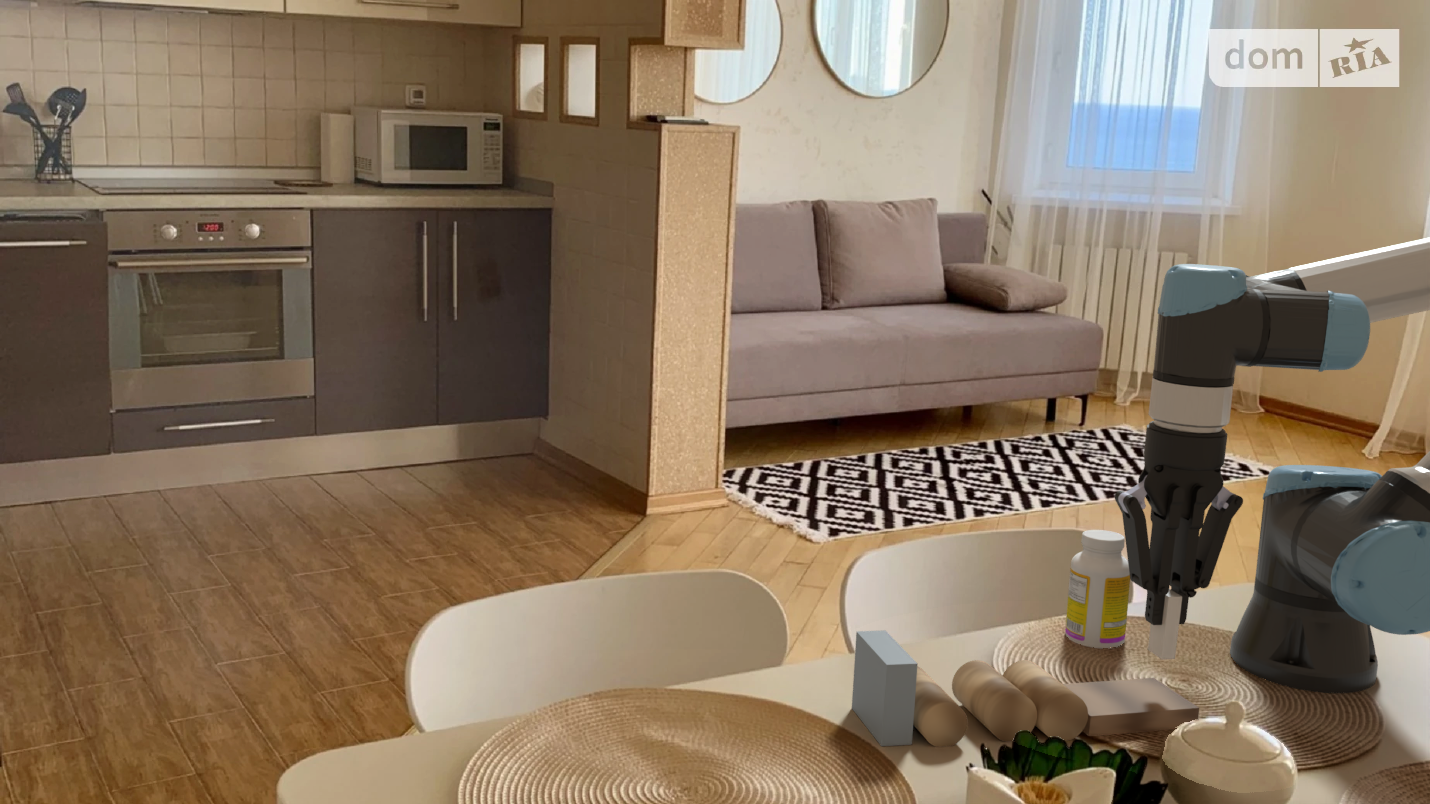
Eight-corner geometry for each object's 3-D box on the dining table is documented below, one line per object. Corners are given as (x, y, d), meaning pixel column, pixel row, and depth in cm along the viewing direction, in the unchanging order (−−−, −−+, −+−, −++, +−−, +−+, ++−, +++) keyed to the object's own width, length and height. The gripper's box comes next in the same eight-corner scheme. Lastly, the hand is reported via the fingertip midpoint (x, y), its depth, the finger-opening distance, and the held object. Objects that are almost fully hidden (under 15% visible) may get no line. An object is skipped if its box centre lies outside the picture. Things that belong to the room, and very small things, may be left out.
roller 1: (933, 695, 142) (893, 712, 141) (921, 657, 141) (881, 674, 140) (972, 736, 132) (930, 755, 132) (960, 696, 131) (918, 714, 131)
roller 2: (955, 659, 141) (999, 660, 142) (948, 704, 141) (992, 705, 143) (994, 694, 132) (1040, 695, 133) (987, 742, 133) (1032, 742, 134)
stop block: (880, 706, 140) (885, 630, 139) (911, 744, 132) (917, 663, 130) (851, 708, 140) (856, 631, 138) (881, 746, 131) (886, 664, 130)
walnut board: (1151, 700, 146) (1153, 677, 146) (1196, 731, 139) (1199, 707, 138) (1047, 708, 143) (1049, 684, 143) (1088, 740, 136) (1090, 716, 135)
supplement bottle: (1128, 639, 163) (1138, 532, 161) (1119, 657, 157) (1129, 546, 155) (1070, 629, 166) (1079, 523, 164) (1058, 646, 160) (1068, 537, 158)
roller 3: (1051, 672, 143) (1027, 712, 143) (1016, 652, 142) (991, 693, 142) (1097, 706, 134) (1071, 749, 135) (1059, 686, 133) (1033, 729, 133)
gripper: (1225, 417, 142) (1199, 639, 146) (1107, 416, 139) (1084, 642, 143) (1269, 432, 135) (1240, 666, 139) (1146, 431, 132) (1120, 670, 136)
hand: (1161, 654), depth 141 cm, fingers closed
